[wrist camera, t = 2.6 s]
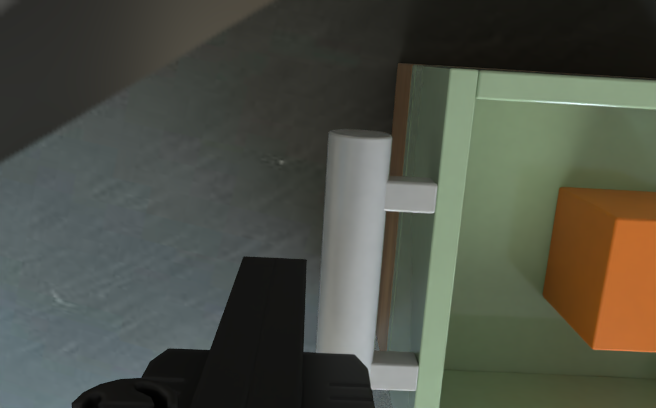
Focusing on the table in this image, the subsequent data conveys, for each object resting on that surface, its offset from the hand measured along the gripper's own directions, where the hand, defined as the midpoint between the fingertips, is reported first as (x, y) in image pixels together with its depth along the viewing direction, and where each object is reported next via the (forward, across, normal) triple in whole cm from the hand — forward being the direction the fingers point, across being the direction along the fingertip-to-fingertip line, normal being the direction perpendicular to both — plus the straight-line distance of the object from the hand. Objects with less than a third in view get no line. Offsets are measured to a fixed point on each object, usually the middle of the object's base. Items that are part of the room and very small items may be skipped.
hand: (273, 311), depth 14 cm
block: (+6, +11, 0) cm, 13 cm away
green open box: (+7, +8, 0) cm, 11 cm away
